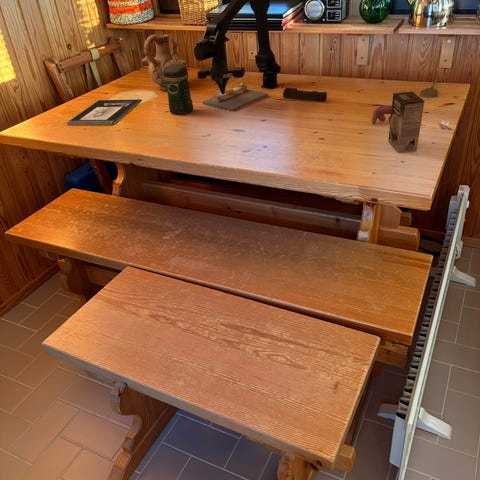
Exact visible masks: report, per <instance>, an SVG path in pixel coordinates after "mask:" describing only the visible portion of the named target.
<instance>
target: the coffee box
mask: <svg viewBox="0 0 480 480" xmlns="http://www.w3.org/2000/svg"><path fill="white" fill-rule="evenodd" d="M391 106H392V110H391V114H390V115H391V120H390V122H389V130H388V131H389V133H388V139H387V141H388V142H387V143H389V145H390V146H391V147H392V148H393V149H394V150H395V152H396V153H397V154H402V153H409V152H410V153H411V152H412V153H413V152H417V151H418V145H419V144H418V143H419V139H420V132H421V127H422V118H423V113H424V108H425V107H424V106H425V100H424V99H423V98H422V97H421V96H419V95H417V94H416V92H414V91H407V92H406V91H402V92H401V91H400V92H393V93H392V102H391Z"/></svg>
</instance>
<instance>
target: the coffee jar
mask: <svg viewBox="0 0 480 480" xmlns="http://www.w3.org/2000/svg"><path fill="white" fill-rule="evenodd" d="M163 76H164V80H165V82H166V86H167V90H166V91H167V99H168V110H169V113H171V114H172V115H186V114H191V113H192V112H193V111H194V104H193V100H192V96H191V91H190V86H189V72H188V68H187V67H186V65H184V66H167V67H165V68H164V69H163Z"/></svg>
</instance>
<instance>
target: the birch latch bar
mask: <svg viewBox="0 0 480 480" xmlns="http://www.w3.org/2000/svg"><path fill="white" fill-rule="evenodd" d="M231 89H233V92H231V93H227V92H225V94H222V93H219V94H214V95H213V96H212V98H213V100H214V101H217V102H219V101H222V100H224V99H227V98H230V97H232V96H235V95H237V94H240V93H242V92H246V91H247V89H248V85H247V84H245V86H240V84H239V85H238V86H236V87H233V88H231Z"/></svg>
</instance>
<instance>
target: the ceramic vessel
mask: <svg viewBox="0 0 480 480" xmlns="http://www.w3.org/2000/svg"><path fill="white" fill-rule="evenodd" d="M153 42H154V43H155V49H156V54H155V55H154V54H153V52H151V50H150V49H151V45H152V43H153ZM169 42H170V35H169V34H165V33H164V34H163V33H162V34H150V35H149V36H148V37H147V38H146V39H145V42H144V44H143V52H144V54H145V57H144V58H142V59H141V62H142V63H145V64H148V73H149V76H150V79H151V81H152V82H153V83H154V84H156V85H158V86H159V89H160V90H162V91H167V86H166V82H165V80H164V76H163V69H164V68H165V67H167V66H186V65H187V61H186V60H184V59H183V58H182V55H180V53H179V52H178V46H179V43H178V41H175V40H174V39H173V38H171V48H170V43H169Z"/></svg>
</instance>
